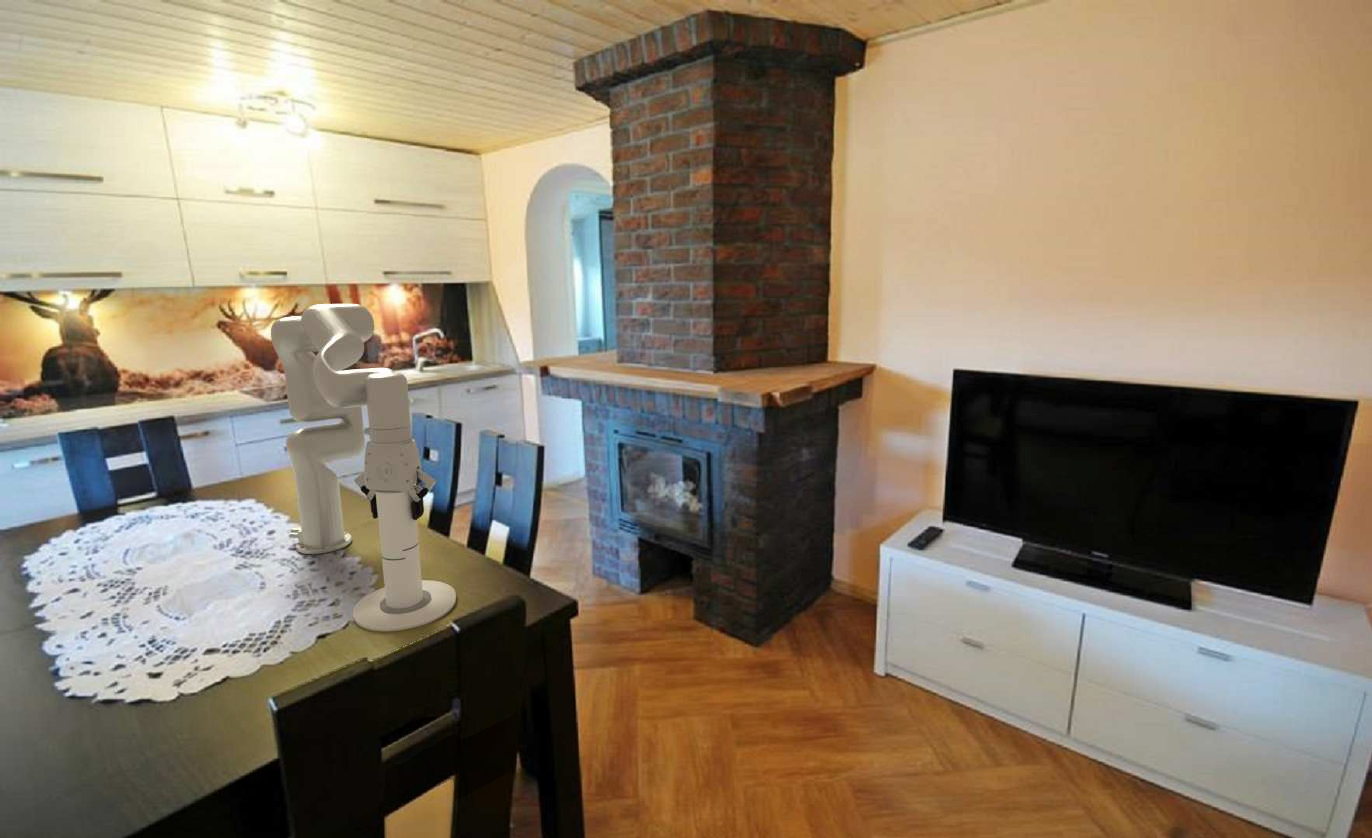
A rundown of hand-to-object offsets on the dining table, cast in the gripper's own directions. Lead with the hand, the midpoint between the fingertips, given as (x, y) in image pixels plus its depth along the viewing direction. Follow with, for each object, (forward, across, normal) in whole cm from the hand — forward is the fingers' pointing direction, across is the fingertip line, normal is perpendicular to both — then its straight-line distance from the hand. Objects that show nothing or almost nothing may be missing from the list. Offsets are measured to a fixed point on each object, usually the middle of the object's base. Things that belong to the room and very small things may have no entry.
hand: (398, 516), depth 128 cm
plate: (+20, 0, 0) cm, 20 cm away
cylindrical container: (+19, 0, 0) cm, 19 cm away
